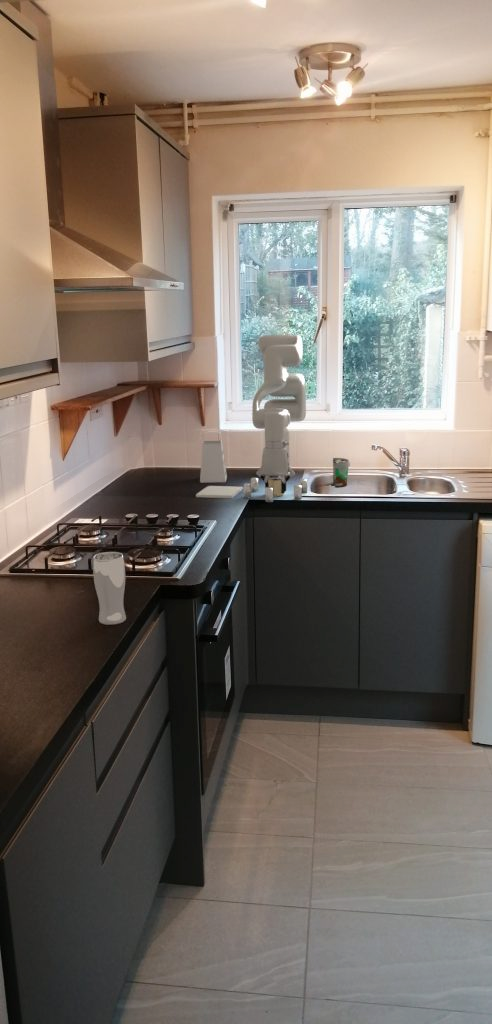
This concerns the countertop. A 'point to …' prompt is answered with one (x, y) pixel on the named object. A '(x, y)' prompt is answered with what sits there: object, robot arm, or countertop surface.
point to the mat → (219, 492)
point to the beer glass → (110, 586)
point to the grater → (212, 461)
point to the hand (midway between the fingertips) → (275, 492)
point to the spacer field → (269, 490)
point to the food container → (340, 472)
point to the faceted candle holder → (275, 486)
